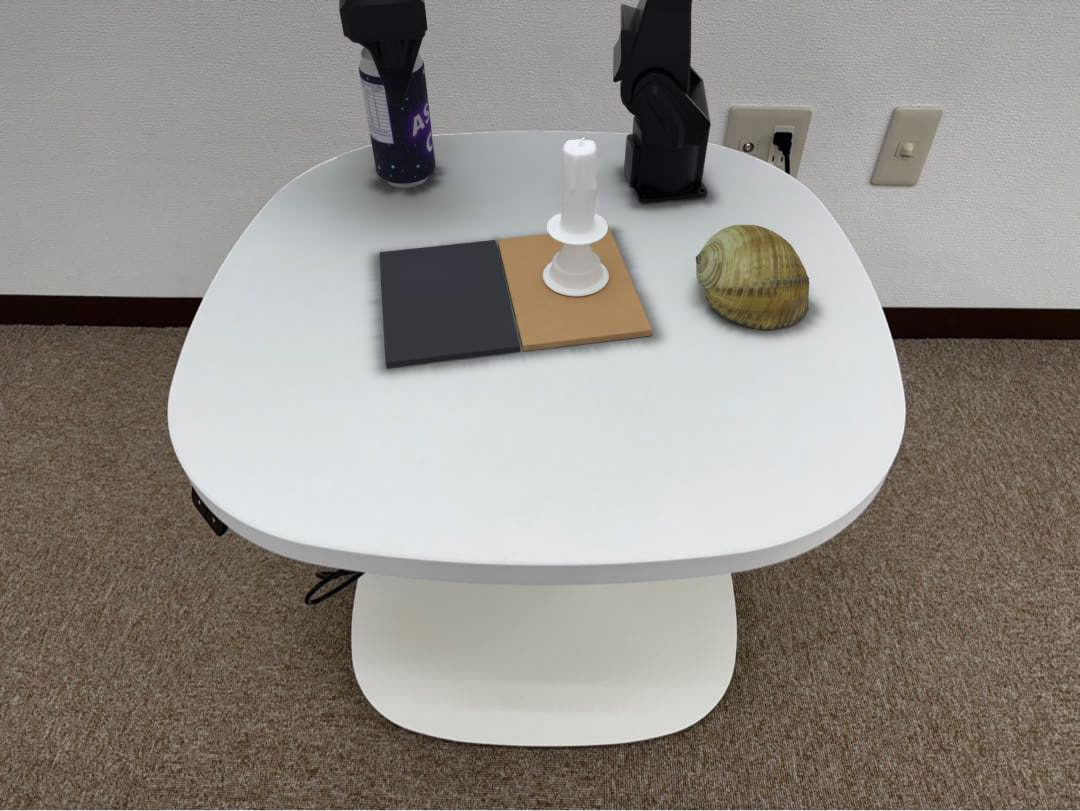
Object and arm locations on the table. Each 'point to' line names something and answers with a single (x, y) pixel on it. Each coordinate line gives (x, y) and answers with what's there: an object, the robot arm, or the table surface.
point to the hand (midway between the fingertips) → (394, 80)
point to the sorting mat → (498, 301)
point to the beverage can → (398, 126)
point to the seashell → (753, 277)
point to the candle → (577, 225)
